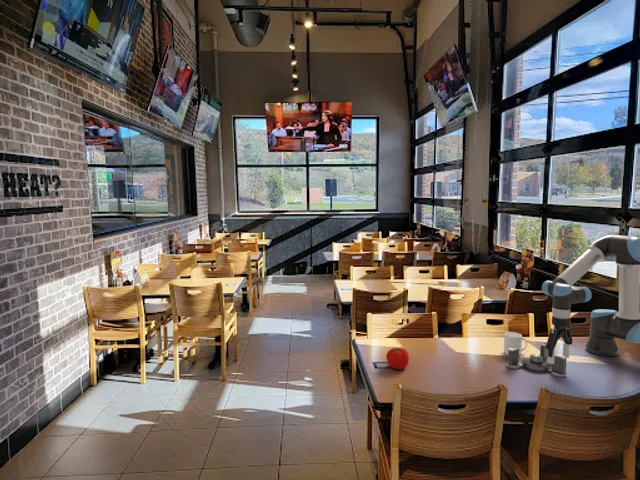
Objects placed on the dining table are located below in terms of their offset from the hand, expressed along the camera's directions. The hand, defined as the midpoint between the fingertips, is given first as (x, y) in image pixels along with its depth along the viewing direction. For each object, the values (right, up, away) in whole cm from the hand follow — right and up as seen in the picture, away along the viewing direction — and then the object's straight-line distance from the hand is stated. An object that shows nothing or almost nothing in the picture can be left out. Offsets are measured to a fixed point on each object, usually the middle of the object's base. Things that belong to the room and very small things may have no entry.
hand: (558, 360), depth 207 cm
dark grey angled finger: (-17, -5, +11) cm, 21 cm away
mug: (-8, -5, +28) cm, 30 cm away
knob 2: (+2, -4, +17) cm, 18 cm away
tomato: (-75, -7, +13) cm, 76 cm away
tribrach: (-8, -6, +10) cm, 14 cm away
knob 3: (0, -6, +1) cm, 6 cm away
